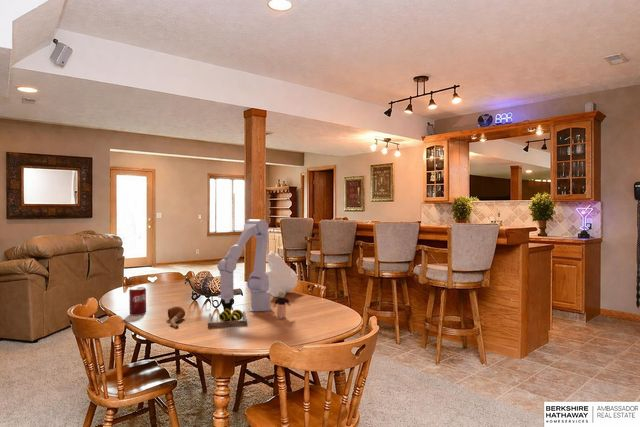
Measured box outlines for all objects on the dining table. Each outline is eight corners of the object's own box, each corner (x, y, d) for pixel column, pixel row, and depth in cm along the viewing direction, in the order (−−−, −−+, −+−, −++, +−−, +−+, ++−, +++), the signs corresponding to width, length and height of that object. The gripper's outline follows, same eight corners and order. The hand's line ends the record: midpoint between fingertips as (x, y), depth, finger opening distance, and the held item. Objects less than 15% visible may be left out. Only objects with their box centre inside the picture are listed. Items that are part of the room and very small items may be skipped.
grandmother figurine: (275, 320, 186) (275, 291, 186) (272, 318, 189) (272, 290, 189) (291, 318, 189) (291, 289, 189) (288, 316, 193) (288, 288, 193)
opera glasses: (218, 322, 185) (217, 312, 184) (225, 317, 190) (224, 307, 189) (237, 325, 181) (235, 314, 180) (243, 319, 186) (242, 309, 185)
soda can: (149, 312, 201) (149, 287, 201) (137, 316, 194) (137, 290, 194) (138, 311, 204) (138, 286, 204) (126, 314, 197) (125, 289, 197)
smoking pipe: (184, 317, 193) (183, 304, 193) (189, 327, 176) (189, 313, 176) (167, 319, 190) (167, 306, 190) (171, 329, 173) (171, 315, 173)
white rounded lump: (283, 277, 260) (262, 248, 249) (304, 275, 251) (283, 244, 240) (266, 309, 241) (243, 279, 230) (288, 307, 233) (265, 275, 222)
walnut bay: (245, 315, 194) (245, 311, 194) (247, 325, 178) (247, 320, 178) (209, 318, 190) (209, 313, 190) (207, 327, 174) (207, 323, 174)
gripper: (218, 283, 197) (218, 312, 197) (217, 289, 183) (218, 320, 183) (233, 282, 198) (233, 311, 198) (234, 288, 184) (234, 319, 184)
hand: (227, 315), depth 191 cm, fingers closed
